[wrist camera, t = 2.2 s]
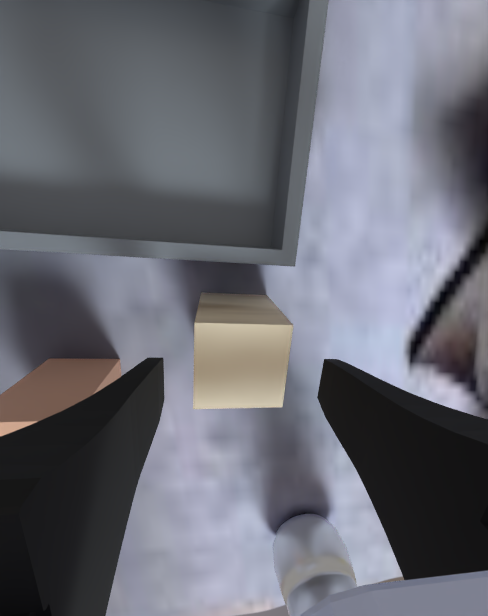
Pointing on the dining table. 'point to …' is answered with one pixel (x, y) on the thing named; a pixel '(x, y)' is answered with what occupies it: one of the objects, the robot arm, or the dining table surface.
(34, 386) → the terracotta block
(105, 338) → the dining table surface
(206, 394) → the beech block
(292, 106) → the slate tray
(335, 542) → the plastic bottle
